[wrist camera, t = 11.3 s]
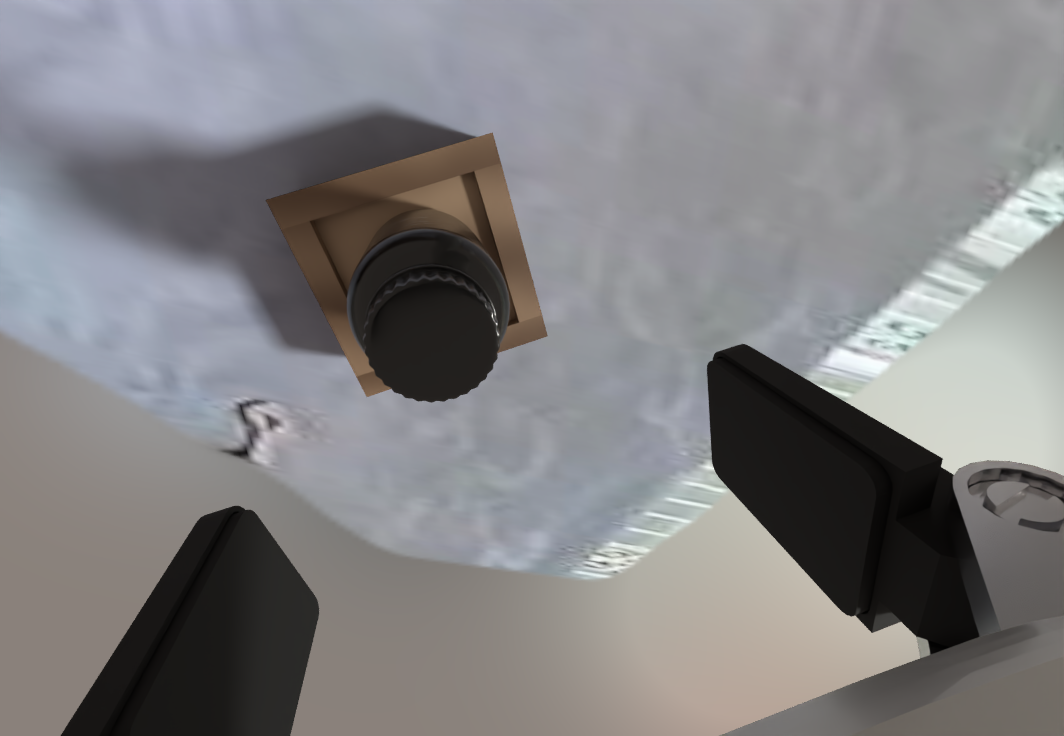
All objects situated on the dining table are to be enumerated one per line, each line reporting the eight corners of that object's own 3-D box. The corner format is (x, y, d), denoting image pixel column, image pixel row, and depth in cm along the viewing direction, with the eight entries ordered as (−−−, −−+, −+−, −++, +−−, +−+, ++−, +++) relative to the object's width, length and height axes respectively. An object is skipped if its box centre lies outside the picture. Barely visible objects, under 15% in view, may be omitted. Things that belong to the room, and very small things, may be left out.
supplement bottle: (364, 317, 27) (323, 421, 16) (370, 197, 24) (325, 225, 13) (479, 329, 28) (510, 431, 18) (495, 219, 26) (544, 260, 15)
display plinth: (296, 193, 28) (265, 199, 22) (480, 138, 28) (492, 132, 23) (376, 360, 33) (366, 396, 28) (529, 309, 34) (547, 336, 29)
